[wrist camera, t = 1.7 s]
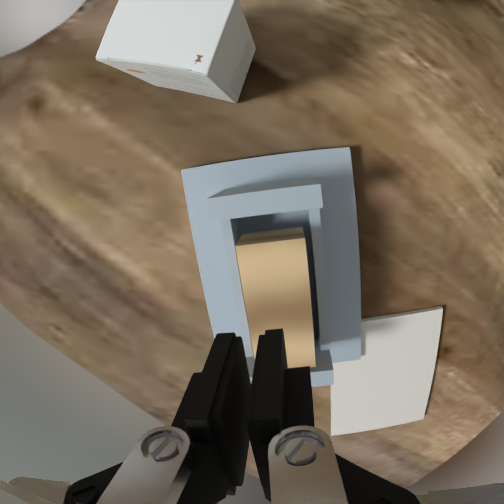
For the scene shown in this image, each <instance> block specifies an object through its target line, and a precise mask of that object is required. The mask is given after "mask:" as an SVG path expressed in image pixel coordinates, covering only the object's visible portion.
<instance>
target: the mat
mask: <svg viewBox="0 0 504 504" xmlns="http://www.w3.org/2000/svg"><path fill="white" fill-rule="evenodd" d="M442 314H443V308H442V307H441V306H437V307H432V308H426V309H421V310H415V311H409V312H403V313H397V314H391V315H384V316H377V317H371V318H364V319H361V359H360V360H353V361H345V362H338V363H332V364H333V370H334V384H333V385H331V436H332V435H340V434H348V433H355V432H361V431H367V430H373V429H379V428H384V427H389V426H394V425H399V424H404V423H408V422H413V421H417V420H421V419H423V418H424V414H425V410H426V406H427V402H428V398H429V393H430V388H431V384H432V379H433V374H434V368H435V363H436V357H437V351H438V344H439V338H440V330H441V322H442Z"/></svg>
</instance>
